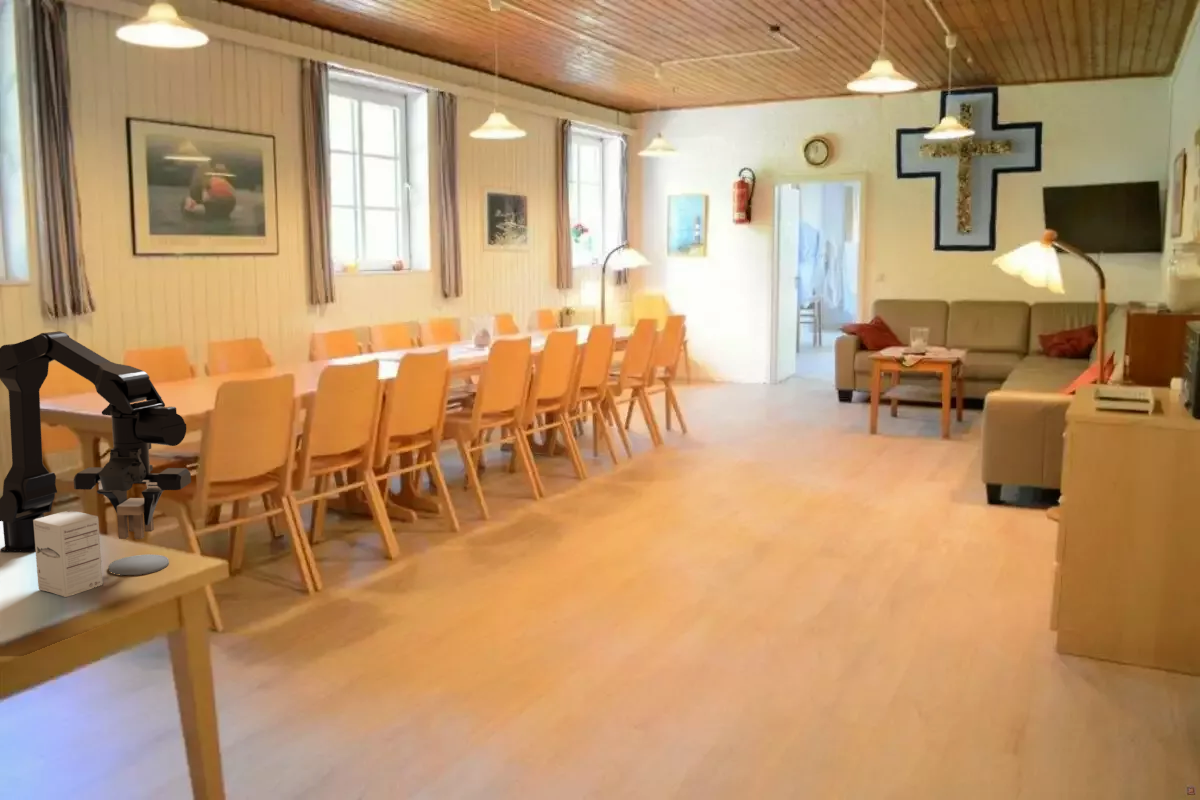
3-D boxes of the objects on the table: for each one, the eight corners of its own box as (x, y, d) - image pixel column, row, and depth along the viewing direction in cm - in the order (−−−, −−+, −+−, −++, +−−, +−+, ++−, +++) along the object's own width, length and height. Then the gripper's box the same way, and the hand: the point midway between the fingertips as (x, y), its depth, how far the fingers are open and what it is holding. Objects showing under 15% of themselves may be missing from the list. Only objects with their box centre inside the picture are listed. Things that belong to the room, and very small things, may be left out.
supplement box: (37, 590, 171) (31, 519, 169) (77, 577, 177) (71, 508, 175) (64, 598, 167) (58, 525, 165) (104, 585, 174) (99, 514, 172)
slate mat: (98, 575, 178) (98, 572, 178) (123, 557, 188) (122, 554, 188) (155, 575, 179) (155, 572, 179) (177, 557, 189) (177, 554, 188)
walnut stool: (131, 529, 185) (129, 498, 184) (153, 529, 185) (152, 498, 184) (118, 538, 180) (116, 506, 179) (141, 538, 180) (139, 506, 179)
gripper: (55, 450, 171) (61, 537, 174) (166, 451, 172) (171, 538, 175) (85, 436, 182) (91, 519, 185) (189, 437, 183) (194, 520, 186)
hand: (136, 524), depth 182 cm, fingers closed on walnut stool, 4 cm apart
